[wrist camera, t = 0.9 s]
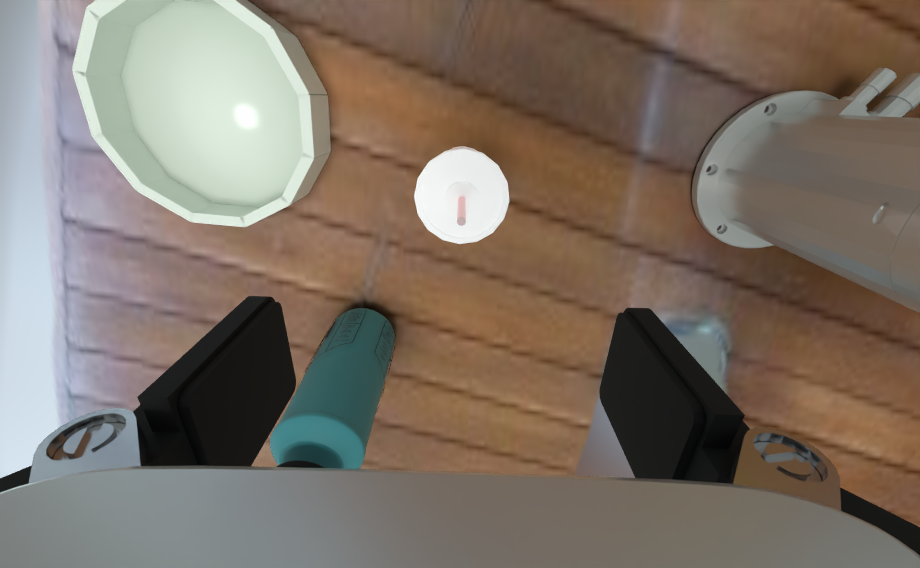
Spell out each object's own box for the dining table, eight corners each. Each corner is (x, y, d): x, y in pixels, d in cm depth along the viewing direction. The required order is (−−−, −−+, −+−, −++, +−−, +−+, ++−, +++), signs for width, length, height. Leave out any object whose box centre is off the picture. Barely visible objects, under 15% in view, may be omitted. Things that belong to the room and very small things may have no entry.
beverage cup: (512, 177, 33) (543, 225, 20) (459, 223, 35) (457, 294, 22) (464, 119, 31) (466, 133, 18) (411, 171, 33) (378, 217, 20)
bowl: (158, -66, 26) (109, -93, 22) (365, 87, 30) (351, 86, 26) (101, 139, 32) (54, 144, 28) (281, 245, 36) (260, 261, 32)
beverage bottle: (340, 291, 38) (226, 467, 20) (406, 306, 38) (355, 490, 20) (332, 345, 40) (227, 542, 22) (394, 358, 41) (341, 560, 23)
